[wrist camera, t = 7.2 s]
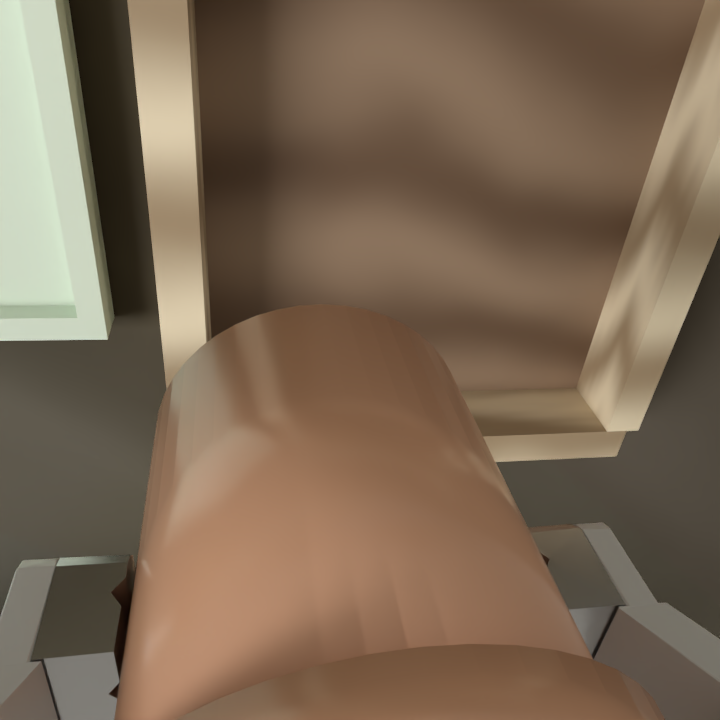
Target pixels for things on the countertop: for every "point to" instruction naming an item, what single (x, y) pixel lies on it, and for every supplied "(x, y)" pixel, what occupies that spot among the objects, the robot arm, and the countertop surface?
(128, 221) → the countertop surface
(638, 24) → the wooden box
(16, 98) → the sage tray
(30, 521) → the countertop surface
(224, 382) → the seedling pot
